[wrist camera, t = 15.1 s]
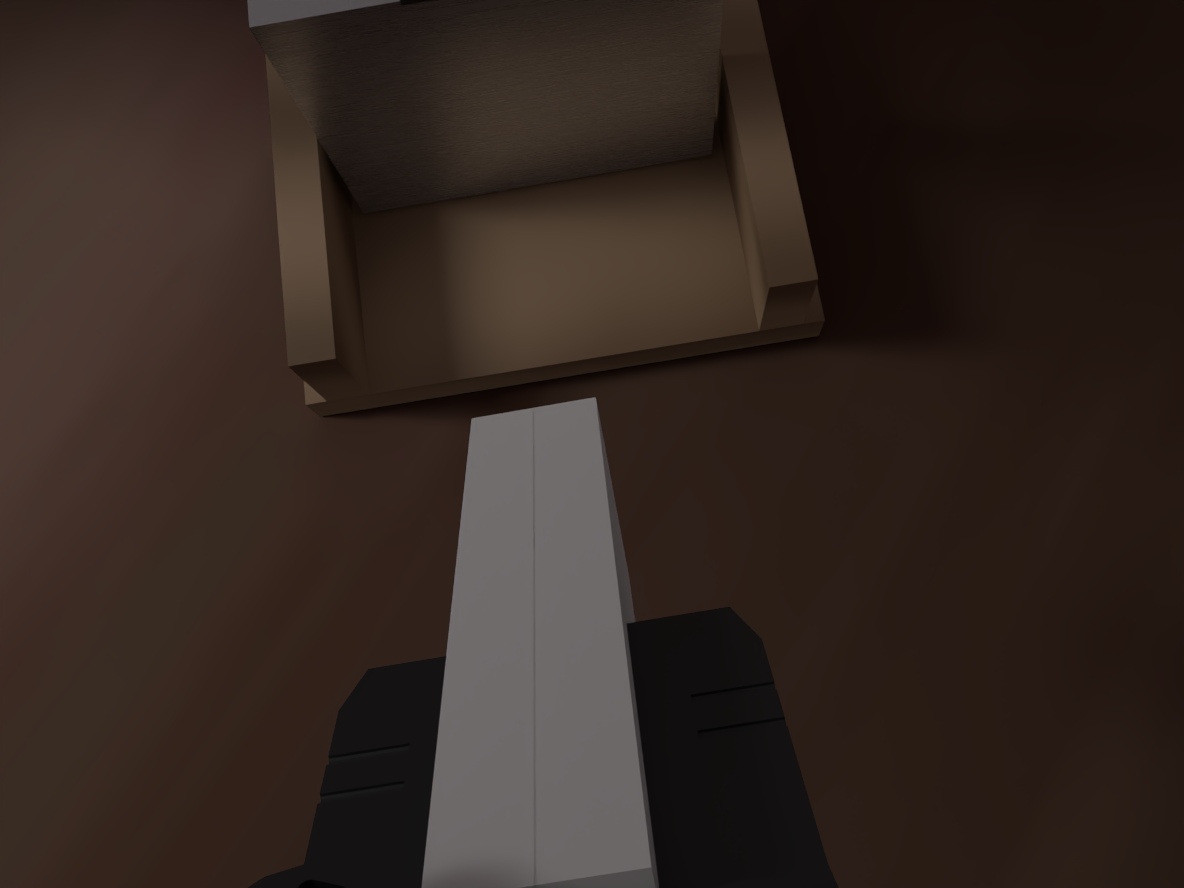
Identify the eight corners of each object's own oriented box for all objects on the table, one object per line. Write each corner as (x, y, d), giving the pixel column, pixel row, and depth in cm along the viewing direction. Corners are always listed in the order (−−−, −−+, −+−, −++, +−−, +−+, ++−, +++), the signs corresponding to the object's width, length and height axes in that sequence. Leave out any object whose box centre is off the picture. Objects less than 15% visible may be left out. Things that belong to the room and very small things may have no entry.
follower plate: (712, 159, 24) (732, -106, 17) (364, 217, 25) (220, -15, 17) (703, 114, 25) (719, -166, 17) (359, 173, 25) (216, -76, 17)
